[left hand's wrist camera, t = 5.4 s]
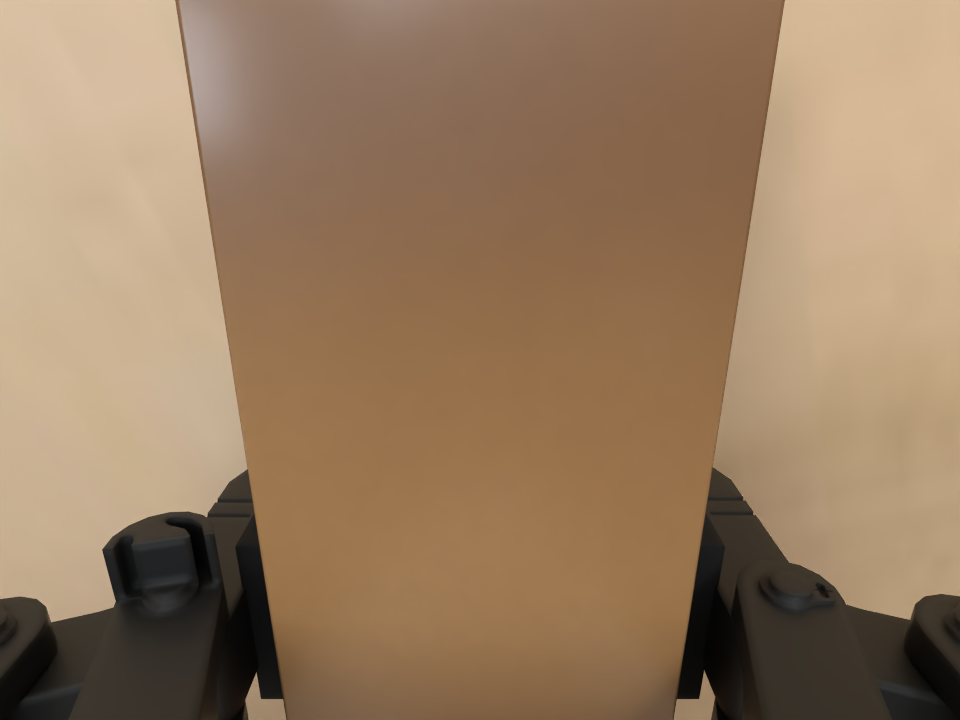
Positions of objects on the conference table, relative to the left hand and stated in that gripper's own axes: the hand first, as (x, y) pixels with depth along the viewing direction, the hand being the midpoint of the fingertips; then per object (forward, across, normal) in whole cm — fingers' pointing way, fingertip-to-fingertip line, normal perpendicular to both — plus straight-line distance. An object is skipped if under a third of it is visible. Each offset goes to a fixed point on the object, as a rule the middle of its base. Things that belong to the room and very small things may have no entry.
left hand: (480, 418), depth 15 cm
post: (+1, 0, -21) cm, 21 cm away
